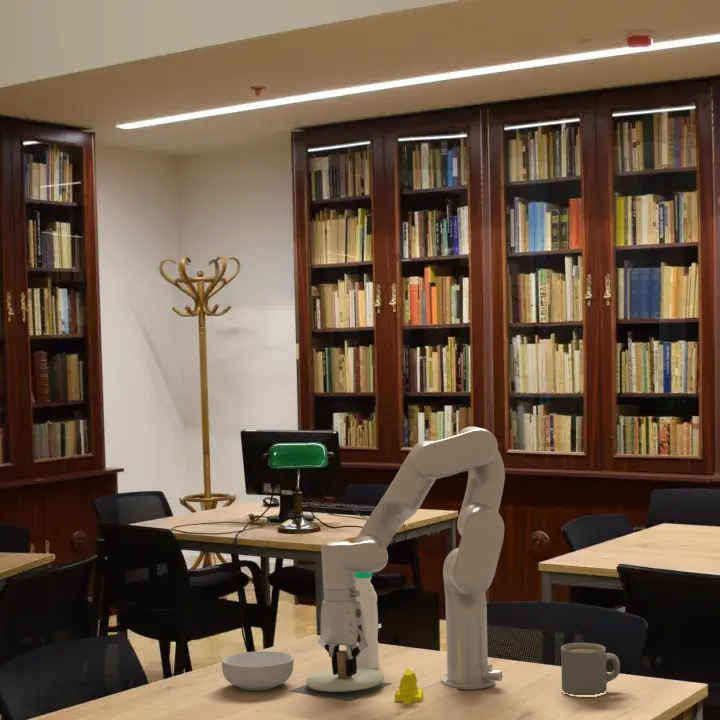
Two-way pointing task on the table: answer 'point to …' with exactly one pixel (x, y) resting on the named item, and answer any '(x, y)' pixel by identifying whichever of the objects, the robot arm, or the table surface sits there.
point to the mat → (339, 695)
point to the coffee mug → (586, 668)
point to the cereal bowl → (257, 669)
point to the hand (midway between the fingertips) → (344, 673)
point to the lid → (344, 677)
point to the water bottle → (368, 621)
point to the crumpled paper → (409, 689)
